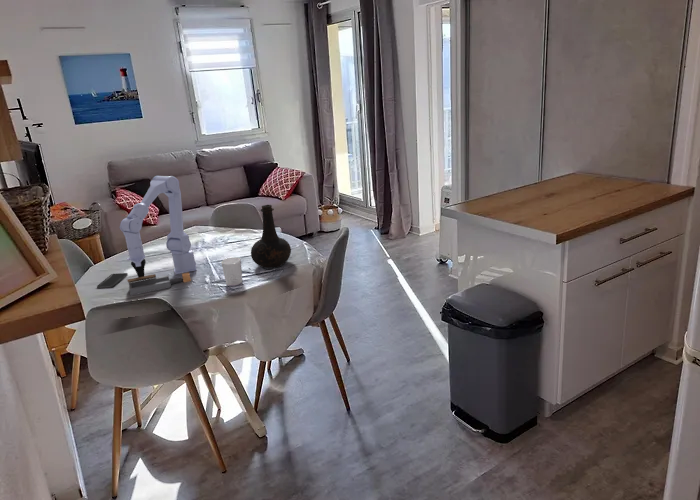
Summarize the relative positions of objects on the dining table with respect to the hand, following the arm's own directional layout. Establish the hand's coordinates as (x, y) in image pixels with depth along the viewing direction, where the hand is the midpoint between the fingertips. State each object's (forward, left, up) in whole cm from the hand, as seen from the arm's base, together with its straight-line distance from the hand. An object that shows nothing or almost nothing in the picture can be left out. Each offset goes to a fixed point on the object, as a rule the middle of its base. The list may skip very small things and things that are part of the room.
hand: (141, 277), depth 212 cm
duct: (-3, -1, -6) cm, 6 cm away
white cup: (-36, +13, -6) cm, 38 cm away
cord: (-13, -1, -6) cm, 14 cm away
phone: (+12, -19, -6) cm, 24 cm away
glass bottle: (-56, +1, -6) cm, 56 cm away
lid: (0, -2, -2) cm, 2 cm away
